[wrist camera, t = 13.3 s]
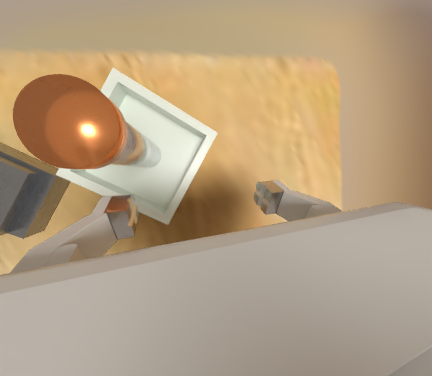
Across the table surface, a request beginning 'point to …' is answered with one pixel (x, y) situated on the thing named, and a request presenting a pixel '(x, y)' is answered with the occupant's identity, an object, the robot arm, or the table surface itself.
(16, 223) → the block
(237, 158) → the table surface
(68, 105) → the pin
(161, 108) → the tray
